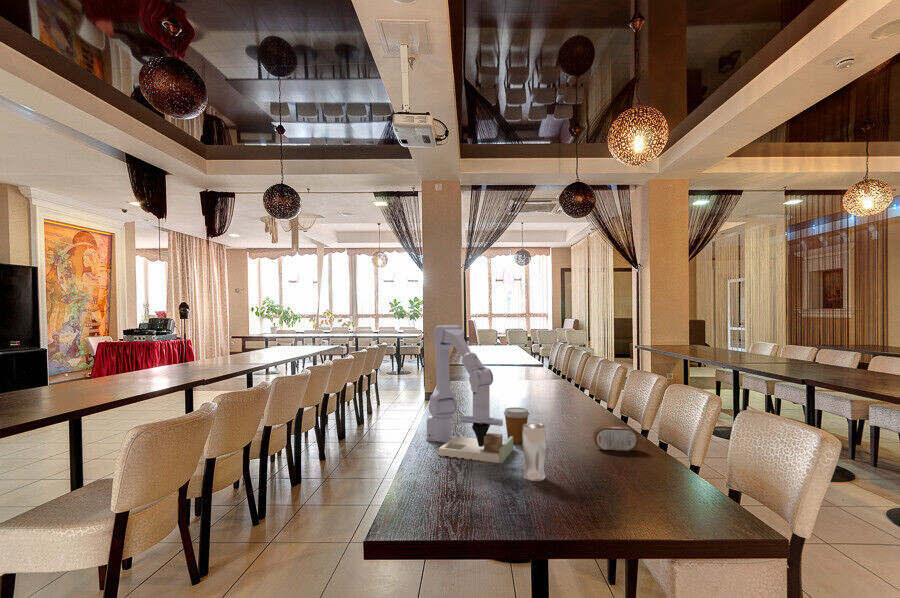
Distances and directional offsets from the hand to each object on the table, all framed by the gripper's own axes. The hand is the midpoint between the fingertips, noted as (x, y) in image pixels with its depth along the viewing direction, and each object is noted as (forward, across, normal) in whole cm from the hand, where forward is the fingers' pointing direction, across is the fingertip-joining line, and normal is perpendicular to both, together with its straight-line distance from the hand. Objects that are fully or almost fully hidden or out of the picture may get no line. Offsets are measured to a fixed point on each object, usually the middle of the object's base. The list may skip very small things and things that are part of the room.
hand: (481, 445), depth 151 cm
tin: (+4, +42, +24) cm, 49 cm away
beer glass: (+4, +20, -13) cm, 24 cm away
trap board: (+4, -3, +4) cm, 6 cm away
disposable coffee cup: (+4, +7, +22) cm, 24 cm away
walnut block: (+1, +4, 0) cm, 4 cm away
